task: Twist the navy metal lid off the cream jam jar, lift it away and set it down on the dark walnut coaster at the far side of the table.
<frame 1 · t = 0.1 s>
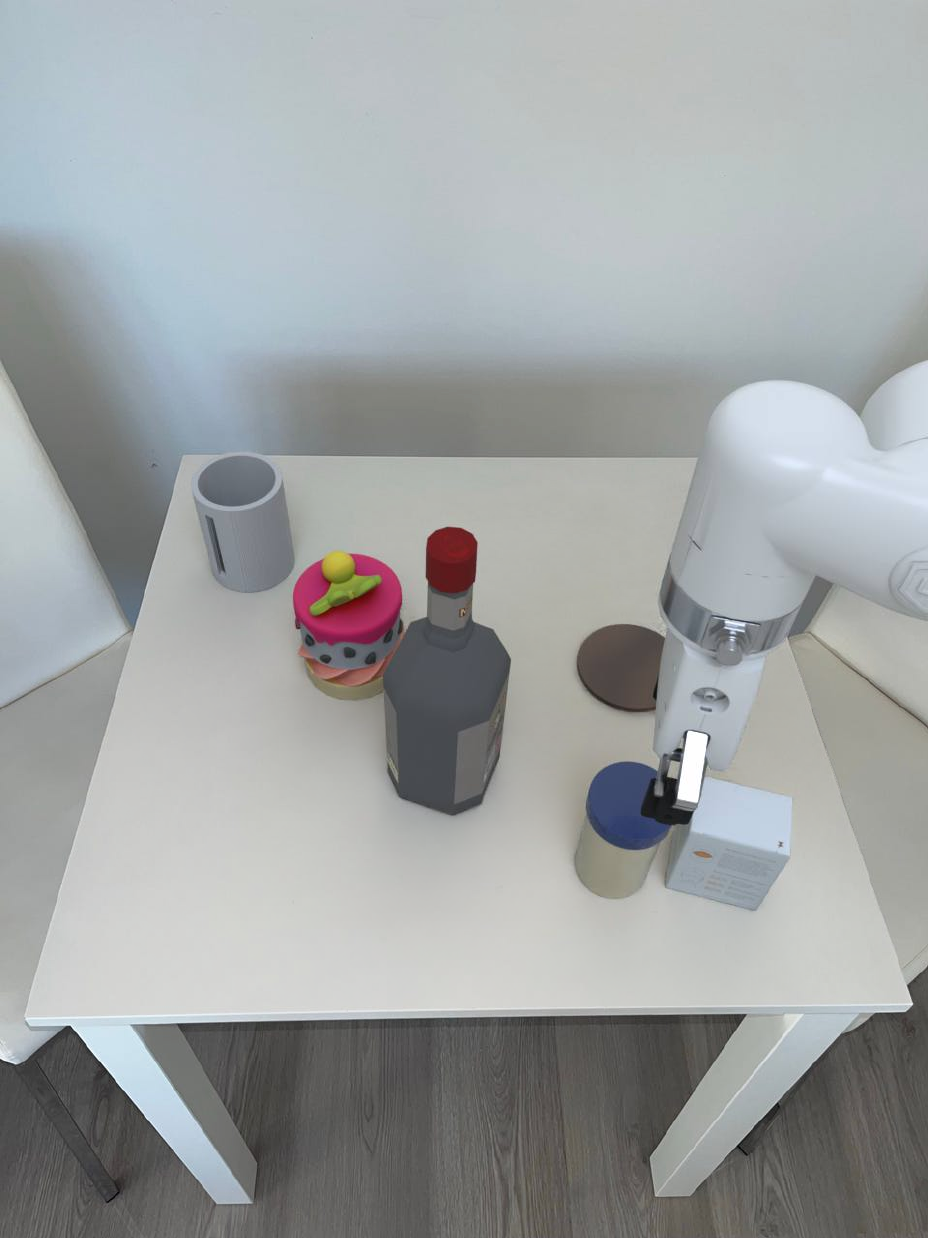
hand: (669, 756, 65), 21 cm above the table, tool pointing down, fingers open, 9 cm apart
small box: (711, 872, 82), on the table
liquor: (443, 771, 88), on the table
cake: (353, 662, 96), on the table
jar: (610, 864, 82), on the table
cup: (253, 563, 104), on the table
lid: (632, 801, 74), point 11 cm above the table, screwed on, not yet turned
coaster: (630, 668, 96), on the table
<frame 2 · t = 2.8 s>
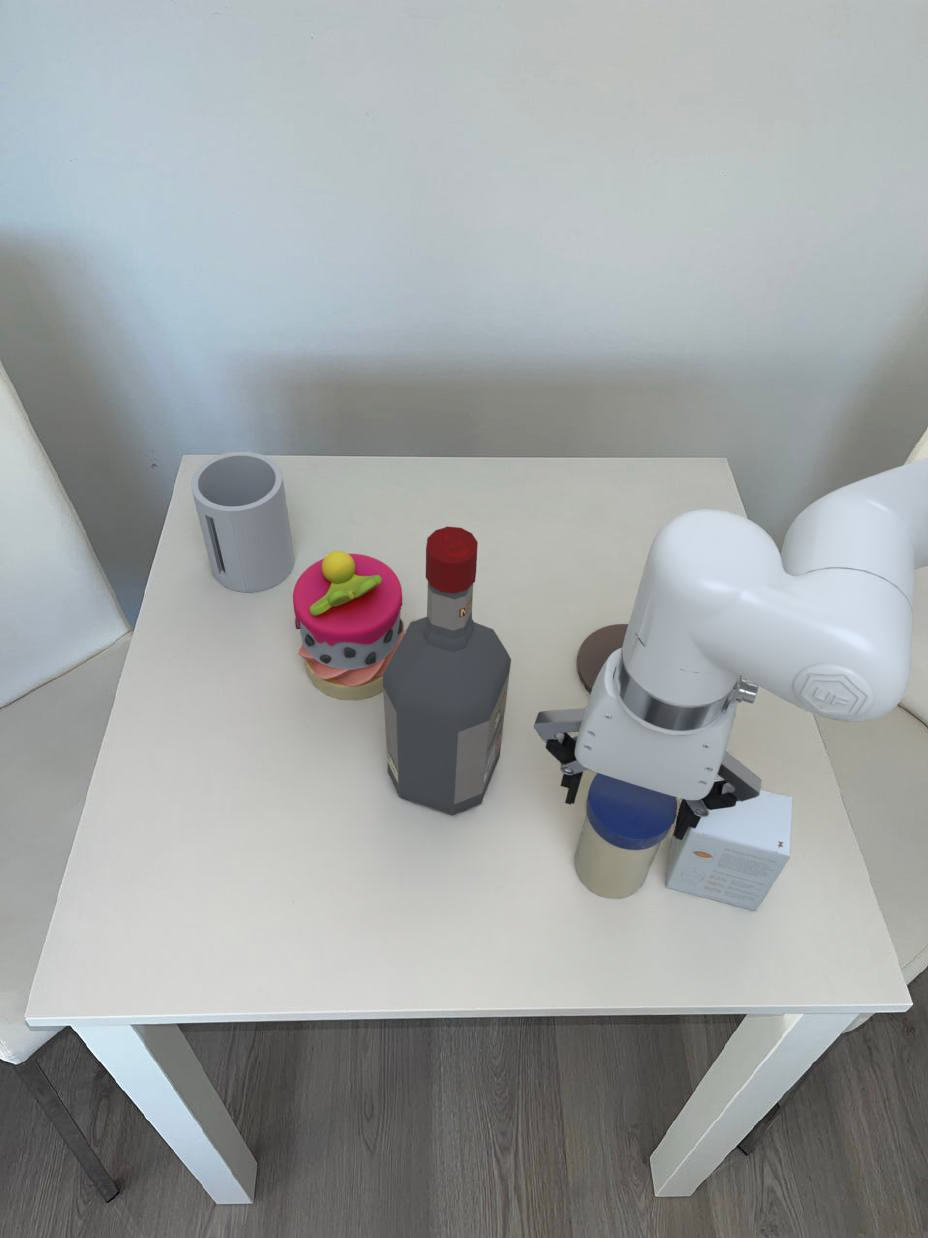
hand: (626, 805, 74), 10 cm above the table, tool pointing down, fingers open, 8 cm apart
small box: (711, 872, 82), on the table, touching gripper
everything else where it was.
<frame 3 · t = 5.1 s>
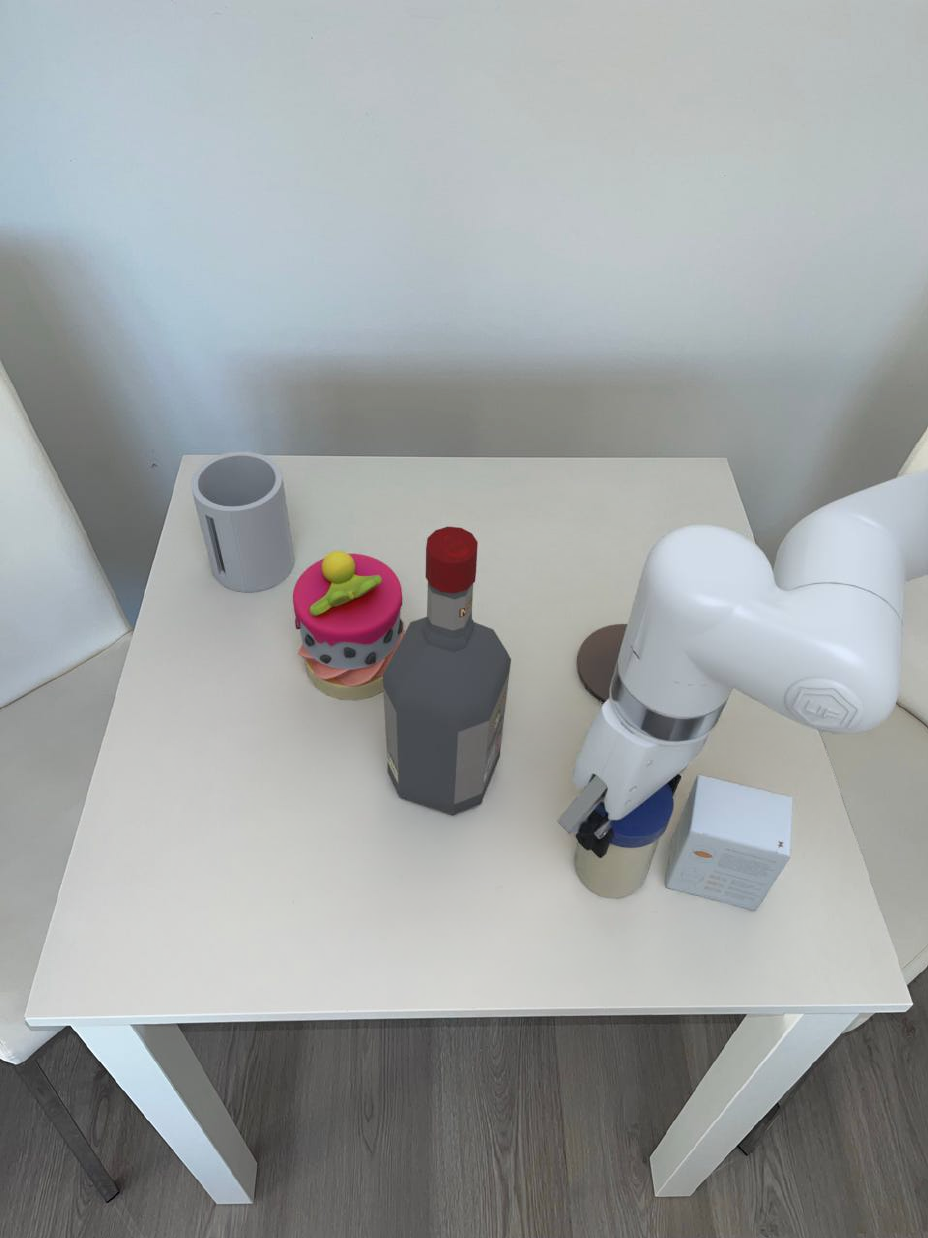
hand: (622, 815, 76), 9 cm above the table, tool pointing down, fingers closed on lid, 7 cm apart
small box: (711, 872, 82), on the table
lid: (628, 799, 74), point 11 cm above the table, turned 59° so far, risen 0.2 cm, still on its thread, touching gripper
everything else where it was.
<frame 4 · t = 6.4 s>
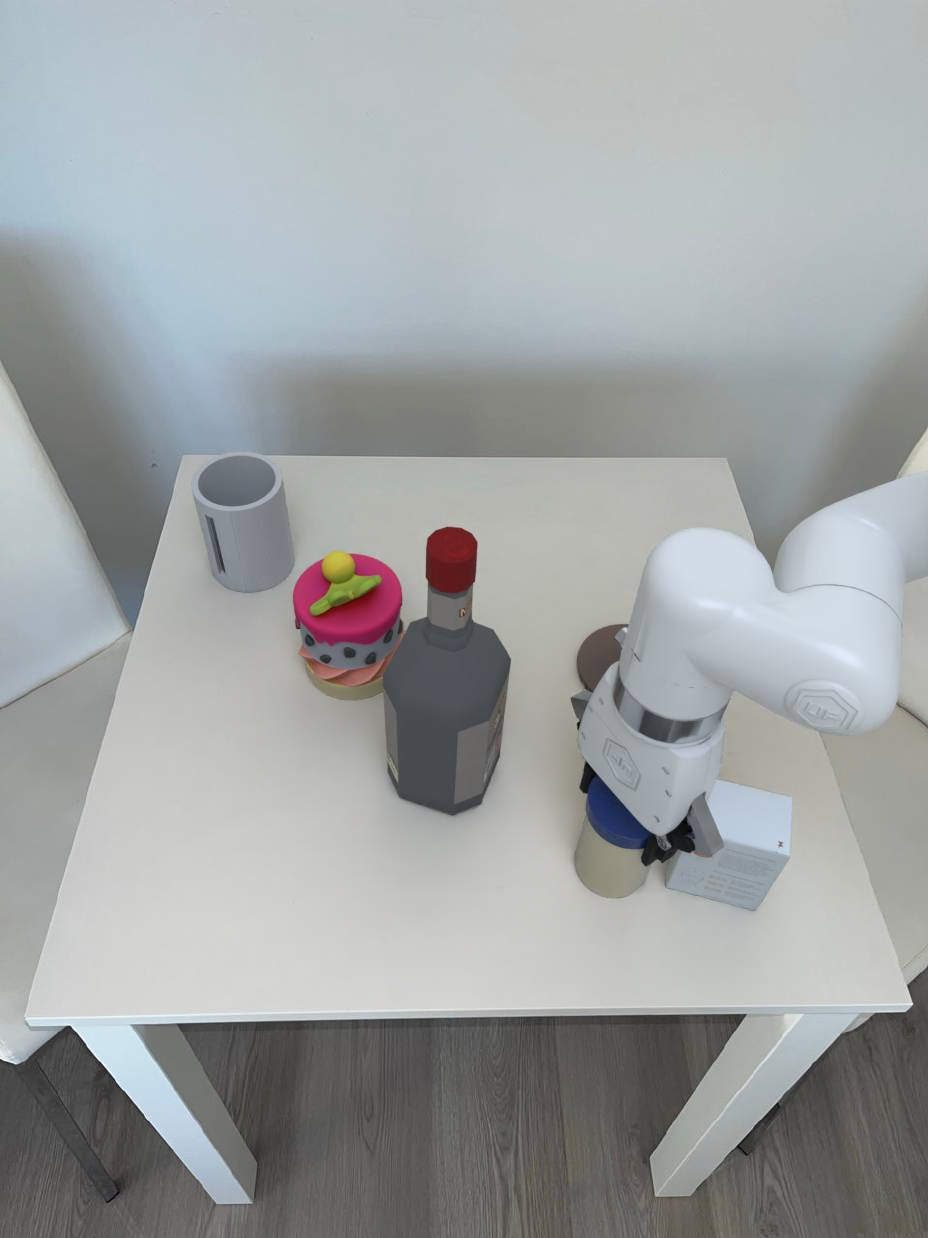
hand: (625, 817, 76), 9 cm above the table, tool pointing down, fingers closed on lid, 7 cm apart
lid: (631, 800, 74), point 11 cm above the table, off its thread, touching gripper
everything else where it was.
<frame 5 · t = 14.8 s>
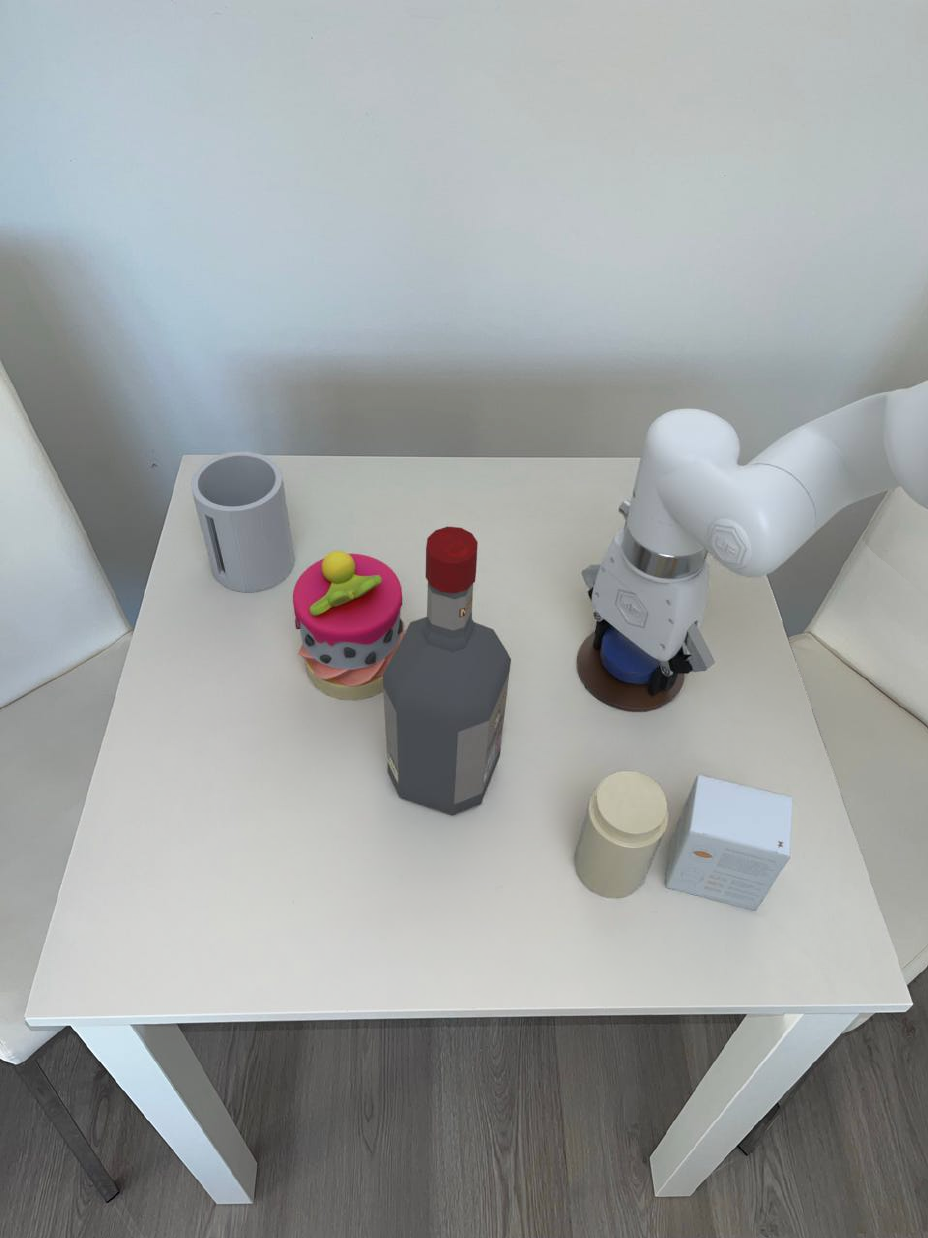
hand: (632, 663, 96), 1 cm above the table, tool pointing down, fingers closed on lid, 7 cm apart
lid: (636, 647, 94), point 4 cm above the table, off its thread, touching gripper
everything else where it was.
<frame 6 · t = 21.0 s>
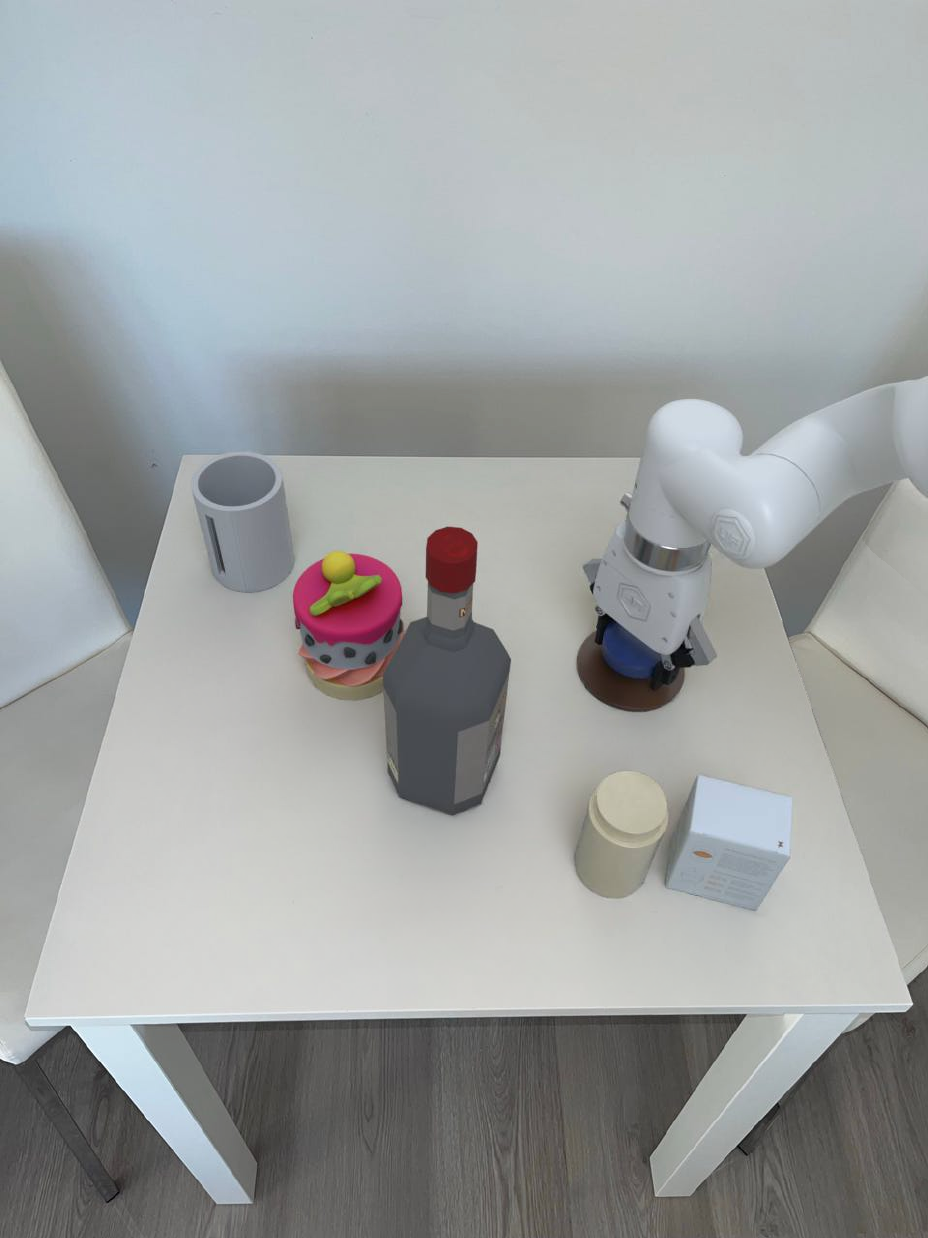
hand: (634, 658, 95), 2 cm above the table, tool pointing down, fingers closed on lid, 6 cm apart
lid: (638, 641, 93), point 4 cm above the table, off its thread, touching gripper
everything else where it was.
when the fingers open (2 cm above the table, at t = 27.0 s): lid drops 3 cm, resting on coaster.
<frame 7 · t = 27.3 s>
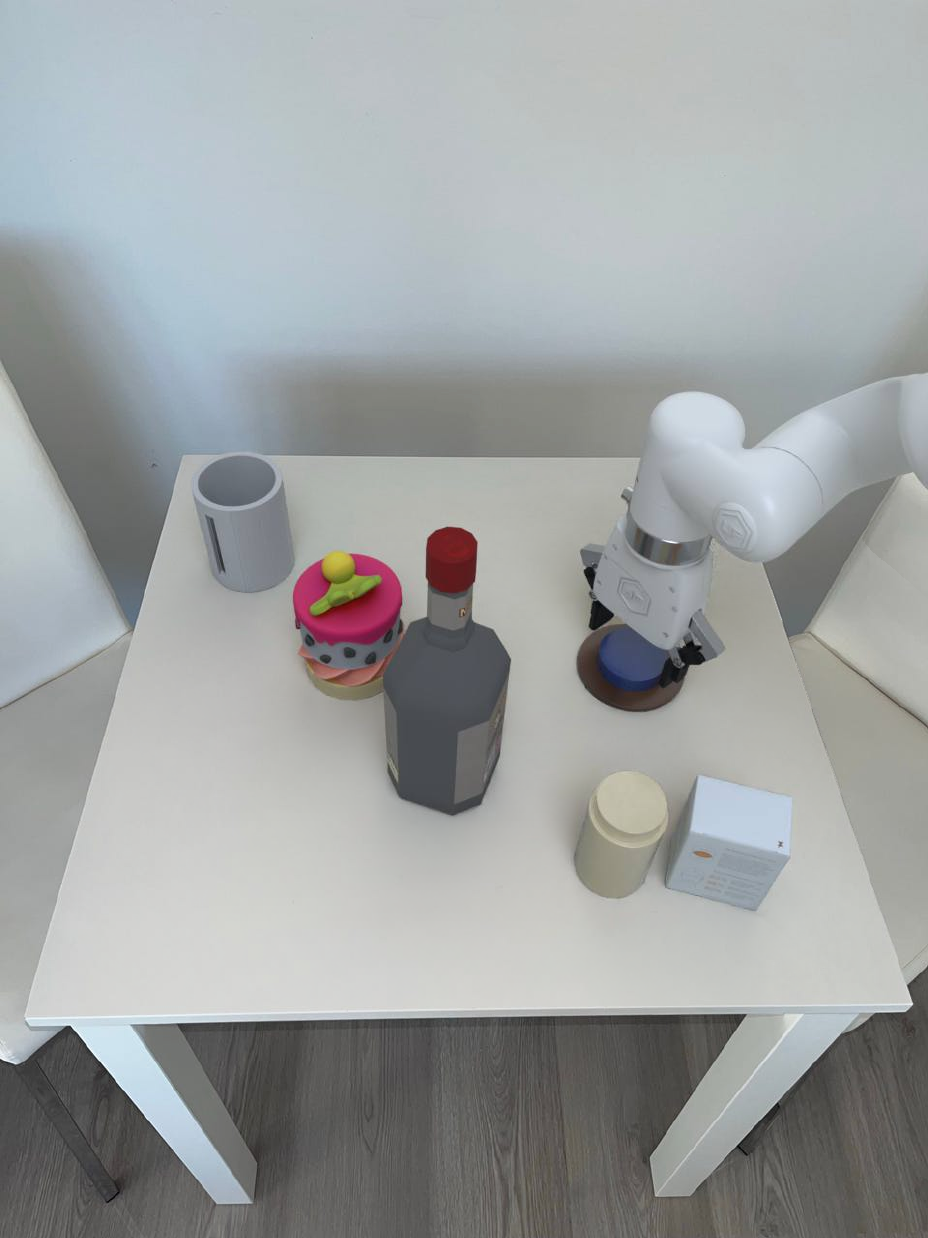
hand: (634, 650, 94), 3 cm above the table, tool pointing down, fingers open, 9 cm apart
lid: (633, 655, 95), point 2 cm above the table, off its thread, touching coaster
everything else where it was.
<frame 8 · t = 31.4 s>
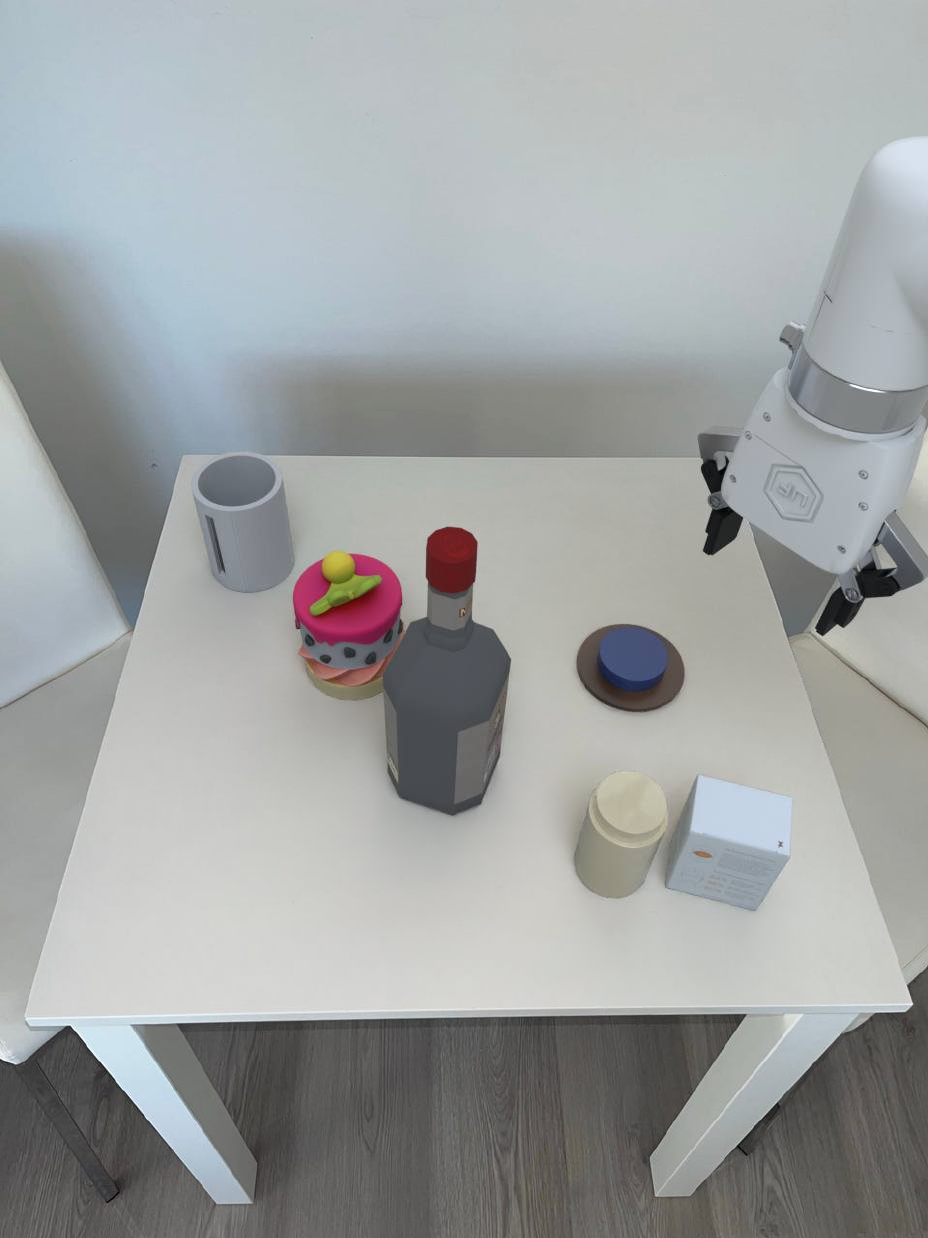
hand: (772, 583, 66), 28 cm above the table, tool pointing down, fingers open, 9 cm apart
nothing on the table moved.
at the end: lid came off its thread; lid inside the target area on the coaster (0.0 cm from its centre), point 2.1 cm above the coaster's base; the gripper is holding nothing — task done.
